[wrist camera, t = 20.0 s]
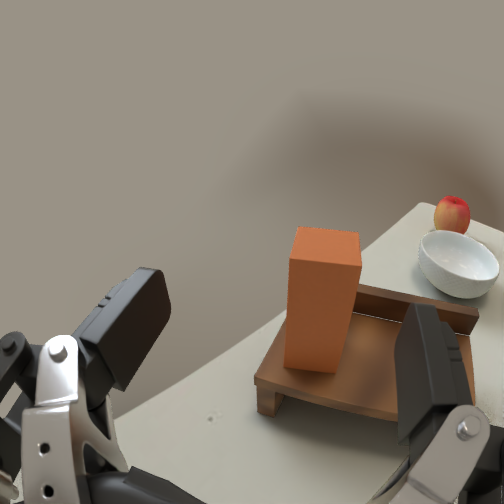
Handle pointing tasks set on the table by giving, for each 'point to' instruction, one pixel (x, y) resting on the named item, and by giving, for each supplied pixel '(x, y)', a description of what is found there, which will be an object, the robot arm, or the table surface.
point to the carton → (320, 297)
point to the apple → (452, 215)
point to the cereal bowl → (457, 264)
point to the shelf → (360, 358)
